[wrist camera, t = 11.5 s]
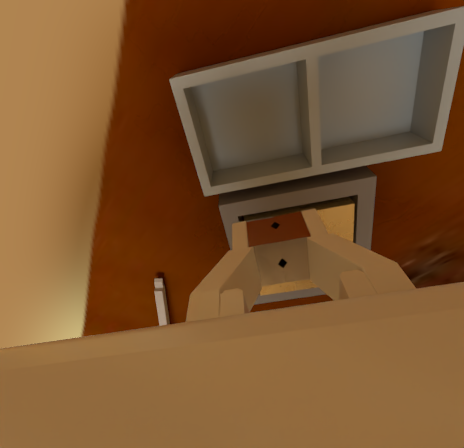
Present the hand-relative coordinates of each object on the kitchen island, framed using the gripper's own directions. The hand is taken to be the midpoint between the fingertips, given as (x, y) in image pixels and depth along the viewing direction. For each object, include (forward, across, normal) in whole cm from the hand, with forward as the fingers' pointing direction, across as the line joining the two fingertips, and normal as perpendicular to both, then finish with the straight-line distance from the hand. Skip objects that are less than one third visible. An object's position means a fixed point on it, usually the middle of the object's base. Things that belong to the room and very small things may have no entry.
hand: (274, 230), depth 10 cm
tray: (+18, -5, 0) cm, 18 cm away
